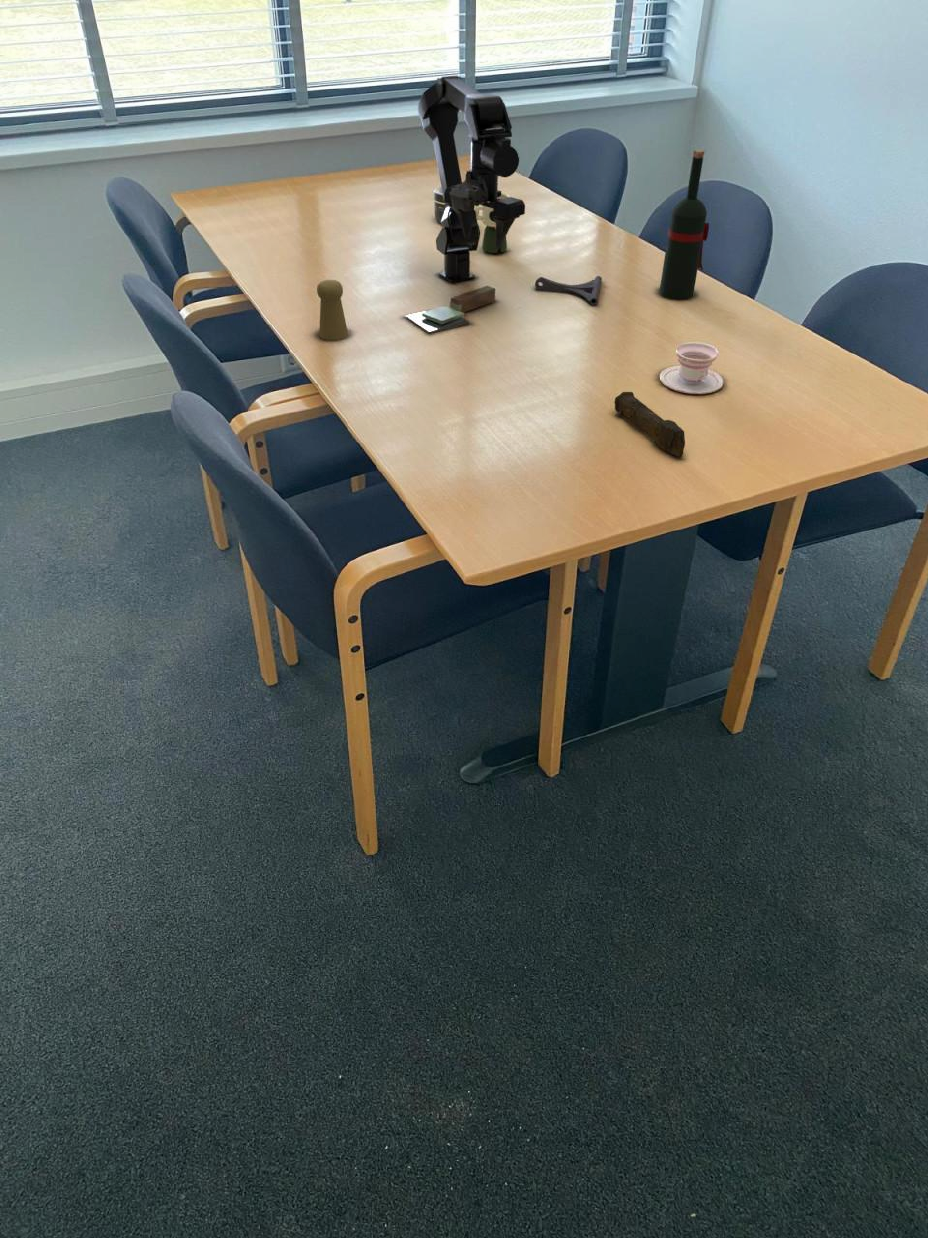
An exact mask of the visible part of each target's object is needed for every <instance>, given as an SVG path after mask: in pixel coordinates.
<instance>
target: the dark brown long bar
mask: <svg viewBox="0 0 928 1238" xmlns="http://www.w3.org/2000/svg"><path fill="white" fill-rule="evenodd" d="M613 402H614V410H615V412H617V413H619V414H620V416H623V415H624V416H625V417H626V418H628V419H629V420H631V421H632V422H633V423H634V424H636V426H637V427H639V428H640V429H642V430H643V431H644V432H645V433H647V434H648V435H649V436H650V437H652V438H653V439H654V441H655V442H656V446H657V447H658V448H660V449H662V450H663V451H665V452H667V453H669V454H671V455H674V456H676V457H678V458H682V457H683V455H684V450H685V447H686V439H685V431H684V430H683V429H682V428H681V427H680V426H679V425H678V424H677V423H676V421H674V420H670V419H664V418H662V417H661V416H660V415H659V414H657V413H656V412H654V410H652V409H651V408H649V407H648V406H647V405H646V404H644V403H643V402H642V401H640V400H639V399H638V398H637V397H635V394H634V392H633V391H622V392H621V393H620V394H619V395H617V396H615V398H614V401H613Z"/></svg>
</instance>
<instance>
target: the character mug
mask: <svg viewBox="0 0 928 1238" xmlns="http://www.w3.org/2000/svg"><path fill="white" fill-rule="evenodd" d="M508 197H511V196H510V195H509V194H507V193H503V192H501V196H500V197H497V199H498V200H501V199H505V198H508ZM489 203H490V202H489ZM474 210H475V211H476V218H477V221H481V224H482V225H484V226H485V227H484V230H483V236H482V242H481V243H482V244H481V248H482V249H483V250H484V251H485V252H486V253H493V254H494V253H495V254H497V253H498V251H500V253H503V252H506V251H507V250H508V244H507V236H506V237H505V239H504V241H503V244H502V246H501V247H500V248H497V247H496V223H495V222H494V220H493V218H492V217H495V214H494V212H493V208H489V207H486V206H482V205H479V206H475V207H474ZM479 214H480V215H479Z"/></svg>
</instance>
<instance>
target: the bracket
mask: <svg viewBox="0 0 928 1238" xmlns="http://www.w3.org/2000/svg"><path fill="white" fill-rule="evenodd" d="M602 281H603V278H602V277H601V276H600V275H597V276H596V277H595V278H594V279H592V280H590V281H587V282H584V283H580V284H567V283H561V282H557V281H554V280H551V279H549V278H545V277H543V276H539V277H538V278H537V279H536V280H535V282H534V287H535V289H536V290H537V291H538V290H539V291H544V292H557V293H569V294H577V295H579V296H581V297H583V298H584V299H585V300H587V302H589V303H590V305H592V306H596V305H597V304H598V301H599V295H600V290H601V286H602ZM539 283H540V284H541V285H540V284H539Z"/></svg>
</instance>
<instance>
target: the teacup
mask: <svg viewBox="0 0 928 1238" xmlns="http://www.w3.org/2000/svg"><path fill="white" fill-rule="evenodd" d="M675 353H676V356H677V357H678V358H677V359H678V360H677V361H678V362H679V365H673V366H670V367H667V368H665V369H663V370H662V371H661V372H660V374H659V381H660V382H661V383H662V384H663V385H664V386H665V387H667V388H669V389H670V390H673V391H676V392H679V393H684V394H688V395H689V394H691V395H704V394H711V393H714V392H717V391H718V390H720V389H721V388H723V385H724V379H723V377H722V376H721V375H720V374H719V373H718V372H715V371H714V370H712V369H709V368H710V367H712V365H713V362H714V361H716V360H717V359H718V357H719V350H718V349H717V348H716V346H714V345H712V344H709V343H706V342H701V341H689V342H684V343H682V344H679V345H678V346H677V347H676V349H675Z"/></svg>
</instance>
